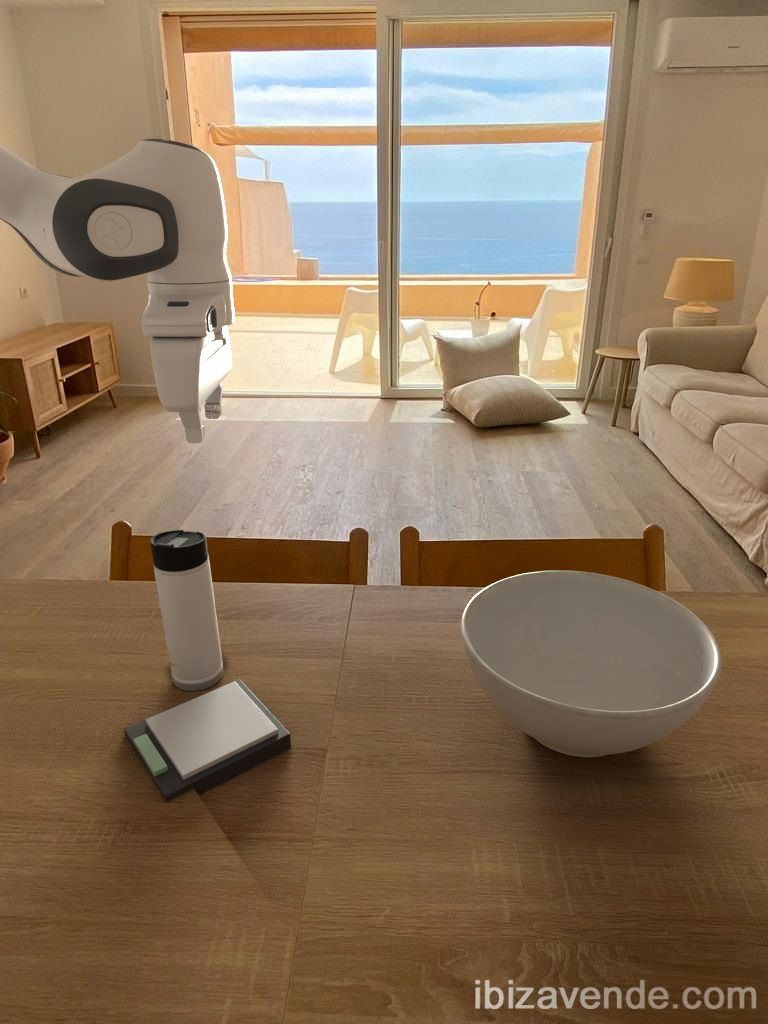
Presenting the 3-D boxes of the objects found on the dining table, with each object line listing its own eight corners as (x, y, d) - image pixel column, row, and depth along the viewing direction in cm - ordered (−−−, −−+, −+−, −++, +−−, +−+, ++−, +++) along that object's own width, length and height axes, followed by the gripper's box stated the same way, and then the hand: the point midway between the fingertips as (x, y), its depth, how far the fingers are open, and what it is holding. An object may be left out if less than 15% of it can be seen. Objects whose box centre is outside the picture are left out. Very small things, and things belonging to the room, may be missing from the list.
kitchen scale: (167, 811, 68) (164, 791, 67) (126, 742, 77) (122, 723, 76) (291, 747, 76) (290, 729, 75) (241, 691, 84) (239, 674, 83)
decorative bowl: (508, 628, 96) (513, 551, 91) (717, 691, 84) (737, 605, 79) (415, 749, 75) (417, 657, 70) (676, 856, 63) (700, 754, 58)
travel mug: (161, 689, 85) (136, 544, 77) (187, 658, 91) (166, 519, 83) (208, 697, 84) (187, 550, 75) (232, 664, 89) (214, 524, 81)
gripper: (187, 296, 86) (199, 405, 91) (135, 322, 67) (154, 457, 73) (238, 296, 86) (247, 405, 91) (200, 322, 67) (214, 457, 73)
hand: (205, 428), depth 82 cm, fingers open, 8 cm apart
